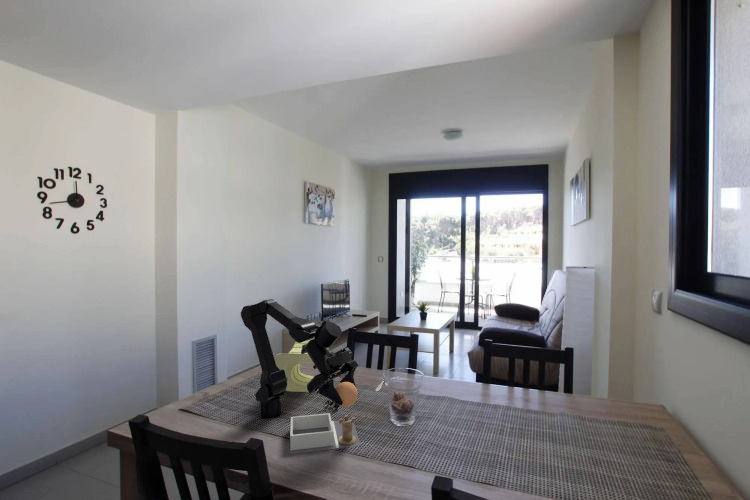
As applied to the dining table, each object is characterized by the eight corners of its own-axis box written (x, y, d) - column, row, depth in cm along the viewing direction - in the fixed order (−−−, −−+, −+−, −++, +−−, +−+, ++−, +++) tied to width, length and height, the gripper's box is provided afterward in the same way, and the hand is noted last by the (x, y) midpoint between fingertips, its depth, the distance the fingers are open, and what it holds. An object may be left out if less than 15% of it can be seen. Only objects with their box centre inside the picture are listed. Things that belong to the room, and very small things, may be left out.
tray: (290, 450, 104) (290, 436, 104) (291, 429, 116) (290, 416, 116) (333, 445, 107) (333, 431, 107) (329, 425, 119) (329, 413, 119)
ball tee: (339, 446, 106) (339, 423, 106) (338, 437, 111) (337, 415, 111) (357, 444, 107) (356, 421, 107) (354, 435, 112) (354, 414, 112)
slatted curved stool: (296, 373, 171) (296, 334, 171) (330, 374, 169) (330, 335, 169) (272, 399, 141) (272, 352, 141) (313, 401, 140) (313, 353, 139)
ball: (335, 412, 105) (335, 387, 105) (332, 402, 112) (332, 379, 112) (359, 410, 107) (359, 386, 107) (355, 400, 114) (355, 377, 114)
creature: (316, 413, 132) (332, 414, 127) (314, 398, 132) (330, 398, 128) (332, 406, 138) (347, 406, 133) (329, 391, 139) (345, 391, 134)
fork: (370, 393, 147) (370, 389, 147) (386, 374, 170) (386, 370, 170) (378, 394, 146) (378, 390, 146) (393, 374, 169) (393, 371, 169)
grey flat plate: (289, 456, 102) (289, 453, 102) (290, 427, 119) (290, 425, 119) (361, 447, 107) (361, 445, 107) (352, 420, 123) (352, 418, 123)
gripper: (314, 347, 104) (345, 395, 98) (353, 334, 119) (382, 375, 113) (294, 370, 108) (322, 417, 102) (334, 355, 124) (361, 395, 118)
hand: (349, 400), depth 109 cm, fingers closed on ball, 7 cm apart
